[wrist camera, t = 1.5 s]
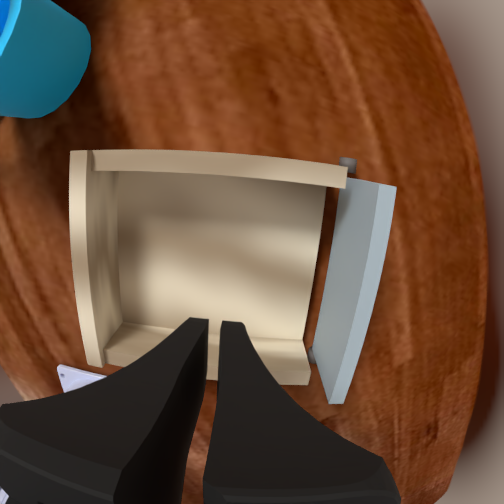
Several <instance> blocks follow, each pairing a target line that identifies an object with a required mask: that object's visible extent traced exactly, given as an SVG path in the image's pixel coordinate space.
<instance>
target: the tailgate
mask: <svg viewBox="0 0 504 504" xmlns="http://www.w3.org/2000/svg"><path fill="white" fill-rule="evenodd" d="M396 188H397V187H394V186H389V185H385V184H380V183H375V182H370V181H364V180H359V179H354V178H347V179H346V187H345V189H344V188H340V191H339V199H338V206H337V214H336V221H335V228H334V234H333V241H332V247H331V253H330V259H329V265H328V271H327V277H326V282H325V288H324V293H323V298H322V303H321V308H320V313H319V318H318V323H317V328H316V333H315V337H314V342H313V347H312V350H313V354H314V357H315V360H316V363H317V367H318V370H319V373H320V376H321V380H322V383H323V386H324V390H325V393H326V396H327V400H328V403H329V404H343V403H344V400H345V397H346V394H347V392H348V389H349V386H350V383H351V380H352V377H353V374H354V371H355V368H356V365H357V362H358V359H359V356H360V352H361V349H362V346H363V342H364V339H365V335H366V332H367V328H368V325H369V321H370V318H371V314H372V310H373V306H374V302H375V298H376V294H377V290H378V286H379V281H380V277H381V273H382V268H383V263H384V259H385V254H386V249H387V243H388V238H389V233H390V227H391V221H392V215H393V209H394V202H395V195H396Z"/></svg>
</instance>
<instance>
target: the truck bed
mask: <svg viewBox="0 0 504 504" xmlns="http://www.w3.org/2000/svg"><path fill="white" fill-rule="evenodd" d="M356 165H357V160H356V159H352V158H345V157H340V160H339V166H338V165H331V164H324V163H317V162H310V161H302V160H294V159H286V158H277V157H267V156H257V155H246V154H233V153H219V152H203V151H181V150H78V151H70V172H69V220H70V242H71V256H72V268H73V277H74V286H75V294H76V302H77V309H78V315H79V321H80V327H81V333H82V338H83V343H84V348H85V353H86V358H87V362H88V364H89V365H93V366H97V367H101V368H102V367H103V366H104V364H105V363H108V364H113V365H117V366H122V367H126V366H128V365H129V364H131V363H133V362H134V361H136V360H137V359H139V358H140V357H142V356H143V355H144V354H146V353H147V352H149V351H150V350H151V349H153V348H154V347H155V346H157V345H158V344H159V343H160V342H161V341H163V340H164V339H165V338H166V337H168V336H169V335H170V334H171V333H172V332H173V331H174V330H176V329H177V328H178V327H179V326H180V325H181V324H182V323H183V322H184V321H186V320H187V319H188V318H189V317H194V318H203V319H209V334H208V370H207V377H206V379H209V380H218V360H219V340H220V328H221V324H222V320H224V321H235V322H242V323H243V324H244V325H245V327H246V330H247V333H248V336H249V338H250V340H251V342H252V344H253V346H254V348H255V350H256V351H257V353H258V355H259V357H260V358H261V360H262V361H263V363H264V365H265V366H266V368H267V369H268V370H269V372H270V373H271V374H272V376H273V377H274V378H275V380H276V381H277V382H278V383H279V384H280V385H308V382H309V379H310V375H311V370H310V366H309V362H310V363H313V364H317V363H316V360H315V357H314V354H313V350H312V347H313V346H312V347H310V348H309V351H308V355H306V351H305V348H304V344H303V340H302V339H303V333H304V328H305V323H306V318H307V312H308V307H309V301H310V296H311V290H312V284H313V278H314V272H315V266H316V260H317V253H318V247H319V240H320V233H321V226H322V219H323V211H324V204H325V196H326V188H327V186H329V187H337V188H344V189H345V187H346V179H347V172H348V173H355V174H356Z"/></svg>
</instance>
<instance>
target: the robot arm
mask: <svg viewBox="0 0 504 504" xmlns="http://www.w3.org/2000/svg"><path fill="white" fill-rule="evenodd" d="M208 334H209V319H203V318H194V317H189V318H188V319H187V320H186V321H184V322H183V323H182V324H181V325H180V326H179V327H178V328H177V329H176V330H174V331H173V332H172V333H171V334H170V335H169V336H168V337H166V338H165V339H164V340H163V341H161V342H160V343H159V344H158V345H157V346H155V347H154V348H153V349H151V350H150V351H149V352H147V353H146V354H144V355H143V356H142V357H140V358H139V359H137V360H136V361H134V362H133V363H131V364H129V365H128V366H126V367H124V368H122V369H120V370H118V371H117V372H115V373H113V374H111V375H109V376H104V375H100V374H96V373H91V372H87V371H83V370H80V369H76V368H72V367H68V366H65V365H59V366H58V367H57V371H58V374H59V378H60V381H61V384H62V387H63V390H64V393H61V394H58V395H54V396H50V397H46V398H41V399H36V400H30V401H24V402H17V403H10V404H2V406H1V407H0V504H181V499H182V491H183V483H184V476H185V469H186V462H187V457H188V453H189V448H190V445H191V441H192V437H193V434H194V430H195V426H196V423H197V419H198V416H199V412H200V408H201V405H202V401H203V397H204V391H205V385H206V377H207V370H208ZM203 498H204V504H400V503H401V497H400V494H399V491H398V489H397V486H396V483H395V481H394V479H393V477H392V474H391V473H390V471H389V469H388V467H387V466H386V464H385V462H384V460H383V458H382V457H380V456H378V455H376V454H374V453H372V452H369V451H367V450H365V449H363V448H361V447H359V446H357V445H355V444H354V443H352V442H350V441H348V440H346V439H344V438H343V437H341V436H339V435H338V434H336V433H335V432H333V431H332V430H330V429H329V428H327V427H326V426H324V425H323V424H321V423H320V422H319V421H317V420H316V419H315V418H314V417H313V416H311V415H310V414H309V413H308V412H306V411H305V410H304V409H303V408H302V407H300V406H299V405H298V404H297V403H296V402H295V401H294V400H293V399H292V398H291V397H290V396H289V395H288V394H287V393H286V391H285V390H284V389H283V388H282V387H281V386H280V385H279V383H278V382H277V381H276V380H275V378H274V377H273V376H272V374H271V373H270V372H269V370H268V369H267V368H266V366H265V365H264V363H263V361H262V360H261V358H260V357H259V355H258V353H257V351H256V350H255V348H254V346H253V344H252V342H251V340H250V338H249V336H248V333H247V330H246V327H245V325H244V324H243V323H242V322H235V321H224V320H222V324H221V328H220V340H219V360H218V382H217V404H216V411H215V417H214V422H213V428H212V434H211V440H210V445H209V450H208V455H207V461H206V466H205V471H204V476H203Z"/></svg>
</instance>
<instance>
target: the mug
mask: <svg viewBox="0 0 504 504" xmlns="http://www.w3.org/2000/svg"><path fill="white" fill-rule="evenodd" d="M90 52H91V40H90V34H89V32H88V30H87V28H86V25H85V24H83V23H82V22H81V21H79V20H78V19H76V18H75V17H74V16H72V15H71V14H69V13H68V12H67V11H65V10H64V9H62V8H61V7H59V6H58V5H57V4H55V3H54V2H52V1H51V0H0V116H9V117H19V118H39V117H43V116H45V115H47V114H49V113H51V112H53V111H55V110H56V109H57V108H58V107H59V106H60V105H61V104H63V103H64V102H65V101H66V100H67V99H68V98H69V96H70V95H71V94H72V92H73V91H74V90H75V88H76V87H77V86H78V85H79V83H80V81H81V78H82V76H83V74H84V72H85V70H86V68H87V65H88V61H89V56H90Z"/></svg>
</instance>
